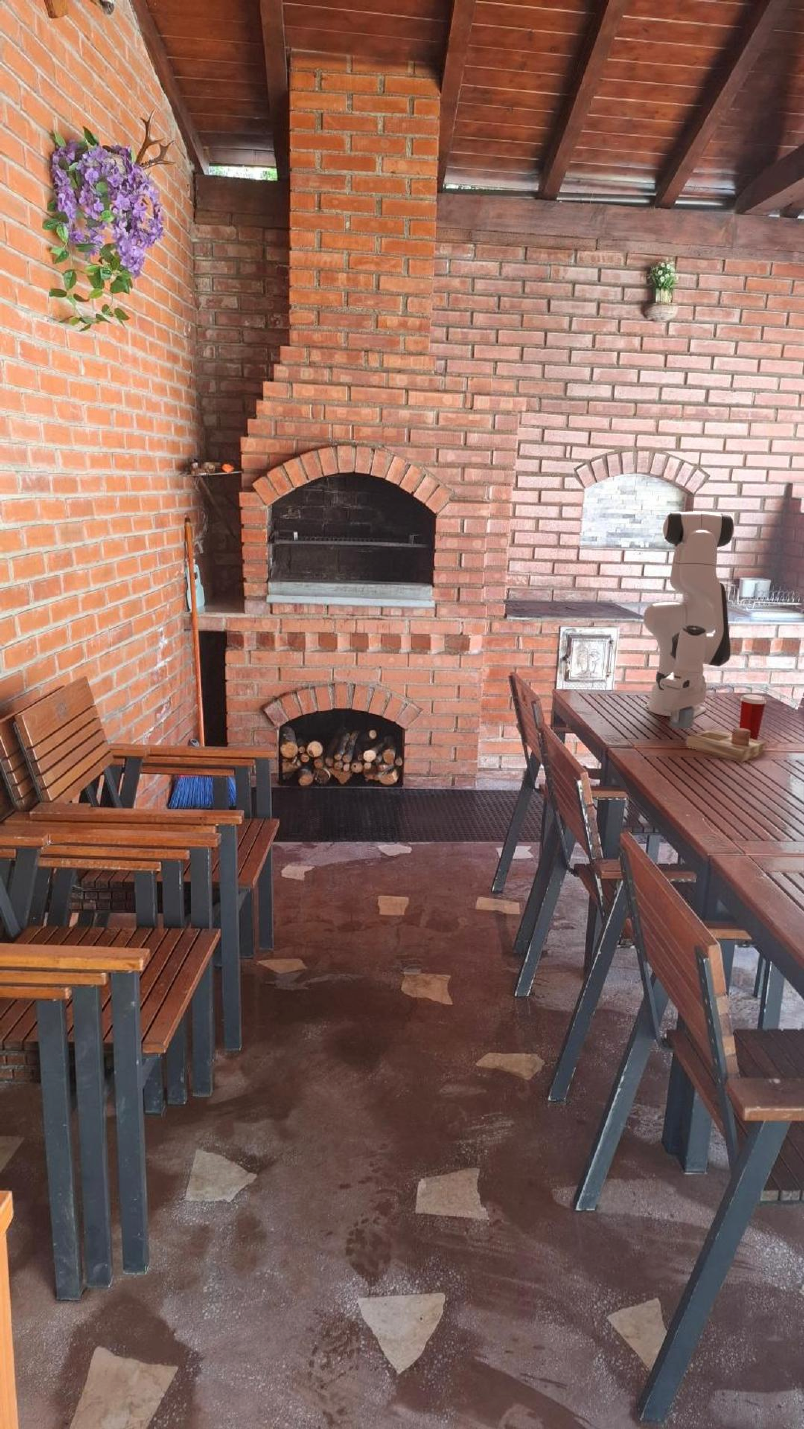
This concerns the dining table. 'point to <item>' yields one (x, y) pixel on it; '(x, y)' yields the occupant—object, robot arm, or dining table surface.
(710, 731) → the assembly board
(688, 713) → the slate block
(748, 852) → the dining table surface
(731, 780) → the dining table surface
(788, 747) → the dining table surface
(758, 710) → the paper cup
